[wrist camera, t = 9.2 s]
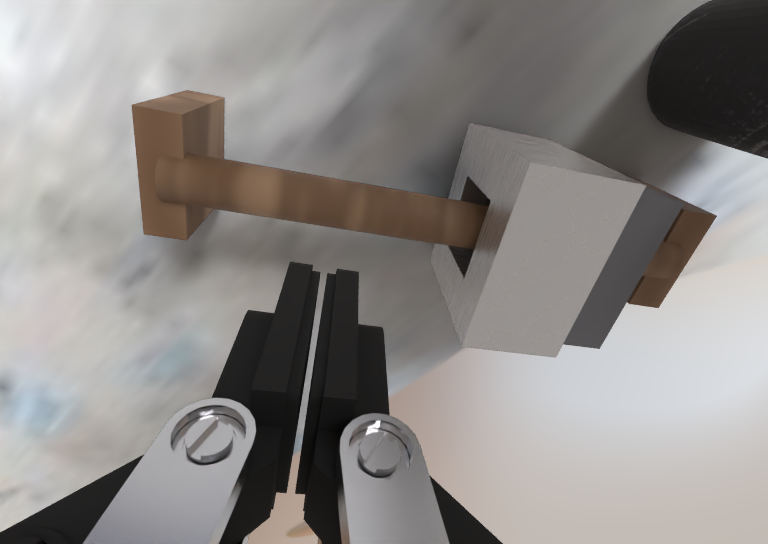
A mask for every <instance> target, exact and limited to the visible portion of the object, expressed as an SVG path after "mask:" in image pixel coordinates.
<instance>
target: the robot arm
mask: <svg viewBox="0 0 768 544" xmlns="http://www.w3.org/2000/svg"><path fill="white" fill-rule="evenodd" d="M312 268H313V265H308V264H302V263H295V262H290V264H289V267H288V270H287V274H286V277H285V280H284V283H283V287H282V290H281V293H280V296H279V300H278V303H277V306H276V310H275V313H267V312H260V311H252V310H248V311H247V313H246V315H245V317H244V320H243V322H242V325H241V327H240V330H239V332H238V335H237V337H236V339H235V342H234V344H233V347H232V349H231V352H230V354H229V357H228V359H227V362H226V364H225V367H224V369H223V372H222V374H221V377H220V379H219V381H218V384H217V386H216V389H215V391H214V394H213V396H212V398H210V399H203V400H200V401H197V402H194V403H192V404H189V405H187V406H186V407H184V408H182V409H181V410H179V411H178V412H176V413H175V414H174V415H173V416H172V417H171V419H170V420H169V421H168V422H167V423H166V424H165V426H164V427H163V428H162V430H161V431H160V433H159V434H158V436H157V437H156V439H155V440H154V441H153V443H152V444H151V446H150V447H149V449H148V450H147V452H146V453H145V454H144V455H142V456H140V457H138V458H137V459H135V460H133V461H131V462H129V463H127V464H126V465H124V466H122V467H120V468H118V469H116V470H115V471H113V472H111V473H109V474H107V475H105V476H103V477H102V478H100V479H98V480H96V481H94V482H92V483H91V484H89V485H87V486H85V487H83V488H81V489H80V490H78V491H76V492H74V493H72V494H70V495H69V496H67V497H65V498H63V499H61V500H59V501H57V502H56V503H54V504H52V505H50V506H48V507H46V508H45V509H43V510H41V511H39V512H37V513H35V514H34V515H32V516H30V517H28V518H26V519H24V520H23V521H21V522H19V523H17V524H15V525H13V526H11V527H10V528H8V529H6V530H4V531H2V532H0V544H247V543H248V539H249V534H250V533H251V532H252V531H253V530H254V529H256V528H257V527H258V526H260V525H261V524H262V523H263V522H264V521H266V520H267V519H268V518H269V517H270V513H271V509H273V506H274V502H275V496H276V492H280V493H286V492H287V486H288V481H289V474H290V468H291V462H292V456H293V450H294V444H295V437H296V431H297V425H298V419H299V413H300V407H301V400H302V394H303V388H304V382H305V376H306V370H307V363H308V357H309V350H310V343H311V336H312V329H313V322H314V315H315V308H316V301H317V294H318V287H319V279H320V272H316V271H312ZM358 290H359V272H356V271H349V270H342V269H337V271H336V274H330V273H328V274H327V280H326V286H325V293H324V300H323V306H322V313H321V319H320V326H319V332H318V339H317V345H316V352H315V359H314V365H313V372H312V379H311V386H310V393H309V400H308V407H307V414H306V421H305V428H304V435H303V442H302V449H301V456H300V463H299V470H298V477H297V484H296V491H295V493H296V494H305V502H304V509H303V511H305V513H304V520H305V521H306V523H307V524H308V525H309V526H310V528H311V529H312V530H313V531H314V533H315V534H316V535H317V536H318V544H503V543H501V542H500V541H499V540H498V539H497V538H496V537H495V536H494V535H493V534H492V533H491V532H489V530H487V529H486V528H485V527H484V526H483V525H482V524H481V523H480V522H479V521H478V520H477V519H476V518H475V517H474V516H472V515H471V514H470V513H469V512H468V511H467V510H466V509H465V508H464V507H463V506H462V505H461V504H460V503H459V502H457V501H456V500H455V499H454V498H453V497H452V496H451V495H450V494H449V493H448V492H447V491H445V490H444V489H443V488H442V487H441V486H440V485H439V484H438V483H437V482H436V481H435V480H434V479H433V478H432V477H431V476H430V475H429V473H428V470H427V466H426V463H425V460H424V456H423V453H422V449H421V446H420V444H419V442H418V439H417V437H416V435H415V434H414V433H413V432H412V430H411V429H410V428H409V427H408V426H407V425H406V424H404V423H403V422H402V421H400V420H399V419H397V418H394V417H391V416H390V415H389V401H388V387H387V373H386V358H385V344H384V332H383V328H382V327H376V326H368V325H360V324H358Z"/></svg>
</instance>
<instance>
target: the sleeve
mask: <svg viewBox="0 0 768 544" xmlns="http://www.w3.org/2000/svg"><path fill="white" fill-rule="evenodd" d="M645 187H646V185H645V184H643V183H640V182H638V181H636V180H634V179H632V178H630V177H628V176H626V175H623V174H621V173H619V172H617V171H615V170H613V169H611V168H609V167H606V166H604V165H602V164H600V163H598V162H596V161H594V160H592V159H589V158H587V157H585V156H583V155H581V154H579V153H577V152H575V151H572V150H570V149H568V148H566V147H564V146H562V145H560V144H558V143H555V142H553V141H551V140H549V139H544V138H539V137H535V136H530V135H525V134H520V133H515V132H511V131H506V130H501V129H496V128H491V127H487V126H482V125H477V124H472V123H470V124H469V127H468V131H467V134H466V137H465V141H464V144H463V148H462V151H461V155H460V158H459V162H458V165H457V169H456V172H455V176H454V179H453V183H452V186H451V190H450V193H449V197H448V199H453V200H459V201H465V202H471V203H476V204H482V205H488V206H489V208H488V211H487V214H486V217H485V220H484V223H483V226H482V228H481V231H480V234H479V237H478V240H477V243H476V246H475V249H467V248H461V247H454V246H448V245H442V244H435V245H434V249H433V252H432V256H431V259H430V261H431V264H432V266H433V269H434V272H435V275H436V277H437V280H438V283H439V286H440V288H441V291H442V294H443V297H444V299H445V302H446V305H447V308H448V310H449V313H450V316H451V319H452V321H453V324H454V327H455V329H456V332H457V335H458V338H459V340H460V343H461V346H462V347H470V348H478V349H487V350H495V351H505V352H513V353H521V354H530V355H539V356H547V357H556V356H557V354H558V353H559V351H560V349H561V347H562V345H563V343H564V341H565V339H566V337H567V336H568V334H569V332H570V330H571V328H572V326H573V324H574V322H575V320H576V318H577V316H578V315H579V313H580V311H581V309H582V307H583V305H584V303H585V301H586V299H587V297H588V296H589V294H590V292H591V290H592V288H593V286H594V284H595V282H596V280H597V278H598V277H599V275H600V273H601V271H602V269H603V267H604V265H605V263H606V261H607V259H608V258H609V256H610V254H611V252H612V250H613V248H614V246H615V244H616V242H617V240H618V238H619V237H620V235H621V233H622V231H623V229H624V227H625V225H626V223H627V221H628V219H629V218H630V216H631V214H632V212H633V210H634V208H635V206H636V204H637V202H638V200H639V199H640V197H641V195H642V193H643V191H644V189H645Z"/></svg>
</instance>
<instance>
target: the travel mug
mask: <svg viewBox="0 0 768 544" xmlns="http://www.w3.org/2000/svg"><path fill="white" fill-rule="evenodd" d="M647 92H648V100H649V104H650V107H651V109H652V111H653V113H654V114H655V116H656V117H657V118H658V119H659V120H660V121H661V122H662V123H663V124H665V125H666V126H668V127H670V128H673V129H675V130H678V131H681V132H684V133H687V134H690V135H693V136H696V137H700V138H703V139H706V140H709V141H712V142H716V143H719V144H722V145H725V146H729V147H732V148H735V149H738V150H742V151H745V152H748V153H751V154H754V155H758V156H761V157H764V158H767V159H768V0H712V1H709V2H707V3H705V4H703V5H701V6H699V7H698V8H696V9H695V10H693V11H692V12H690V13H689V14H688V15H686V16H685V17H684V18H683V19H682V20H681V21H680V22H679V23H678V24H677V25H676V26H675V27H674V28H673V29H672V30H671V31H670V32H669V34H668V35H667V37H666V38H665V39H664V41H663V42H662V44H661V46H660V47H659V49H658V51H657V53H656V55H655V57H654V60H653V63H652V65H651V69H650V73H649V77H648V88H647Z"/></svg>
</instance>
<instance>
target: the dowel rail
mask: <svg viewBox="0 0 768 544" xmlns="http://www.w3.org/2000/svg"><path fill="white" fill-rule="evenodd" d="M132 114H133V125H134V135H135V146H136V156H137V167H138V178H139V188H140V199H141V209H142V220H143V231H144V234H146V235H153V236H160V237H167V238H174V239H181V240H188V238H189V237H190V236H191V235H192V234H193V233H194V231H195V230H196V229H197V228H198V227H199V226H200V224H201V223H202V222H203V221H204V220H205V219H206V217H207V216H208V215H209V214H210V213H211V212H212V210H213V209H218V210H225V211H231V212H237V213H244V214H250V215H257V216H263V217H269V218H276V219H282V220H288V221H295V222H301V223H308V224H314V225H320V226H327V227H333V228H340V229H346V230H352V231H359V232H365V233H371V234H378V235H384V236H391V237H397V238H403V239H410V240H416V241H422V242H429V243H435V244H442V245H448V246H454V247H461V248H467V249H475V246H476V243H477V240H478V237H479V234H480V231H481V228H482V226H483V223H484V220H485V217H486V214H487V211H488V208H489V206H488V205H482V204H476V203H471V202H465V201H459V200H453V199H448V198H442V197H436V196H431V195H425V194H419V193H414V192H408V191H402V190H397V189H391V188H385V187H380V186H374V185H368V184H363V183H357V182H351V181H345V180H340V179H334V178H328V177H323V176H317V175H311V174H306V173H300V172H294V171H289V170H283V169H277V168H272V167H266V166H260V165H255V164H249V163H243V162H238V161H232V160H226V159H224V98H223V97H218V96H213V95H208V94H203V93H198V92H193V91H188V90H187V91H183V92H179V93H175V94H171V95H168V96H164V97H160V98H156V99H152V100H149V101H145V102H141V103H137V104H133V105H132ZM634 180H635V179H634ZM636 181H638V182H640V183H643V184H645V185H647V186H649V187H651V188H653V189H655V190H657V191H659V192H662V193H664V194H666V195H668V196H670V197H672V198H674V199H676V200H679V201H681V202H683V203H684V205H683V207H682V208H681V210H680V212H679V214H678V215H677V217H676V219H675V220H674V222H673V224H672V226H671V227H670V229H669V231H668V232H667V234H666V236H665V238H664V239H663V241H662V243H661V244H660V246H659V248H658V250H657V251H656V253H655V255H654V256H653V258H652V260H651V261H650V263H649V265H648V267H647V268H646V270H645V272H644V273H643V275H642V277H641V279H640V280H639V282H638V284H637V285H636V287H635V289H634V291H633V292H632V294H631V296H630V297H629V299H628V301H627V302H628V303H629V304H635V305H641V306H648V307H655V308H659V306H660V305H661V303H662V302H663V300H664V298H665V297H666V295H667V294H668V292H669V290H670V289H671V287H672V286H673V284H674V283H675V281H676V279H677V278H678V276H679V275H680V273H681V272H682V270H683V268H684V267H685V265H686V264H687V262H688V261H689V259H690V257H691V256H692V254H693V253H694V251H695V250H696V248H697V246H698V245H699V243H700V242H701V240H702V239H703V237H704V235H705V234H706V232H707V231H708V229H709V228H710V226H711V224H712V223H713V221H714V220H715V218H716V217H717V216H716V215H714V214H712V213H709V212H707V211H705V210H703V209H701V208H699V207H696V206H694V205H692V204H690V203H688V202H686V201H684V200H681V199H679V198H677V197H675V196H673V195H671V194H668V193H666V192H664V191H662V190H660V189H658V188H655V187H653V186H651V185H649V184H647V183H645V182H643V181H640V180H636Z"/></svg>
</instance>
